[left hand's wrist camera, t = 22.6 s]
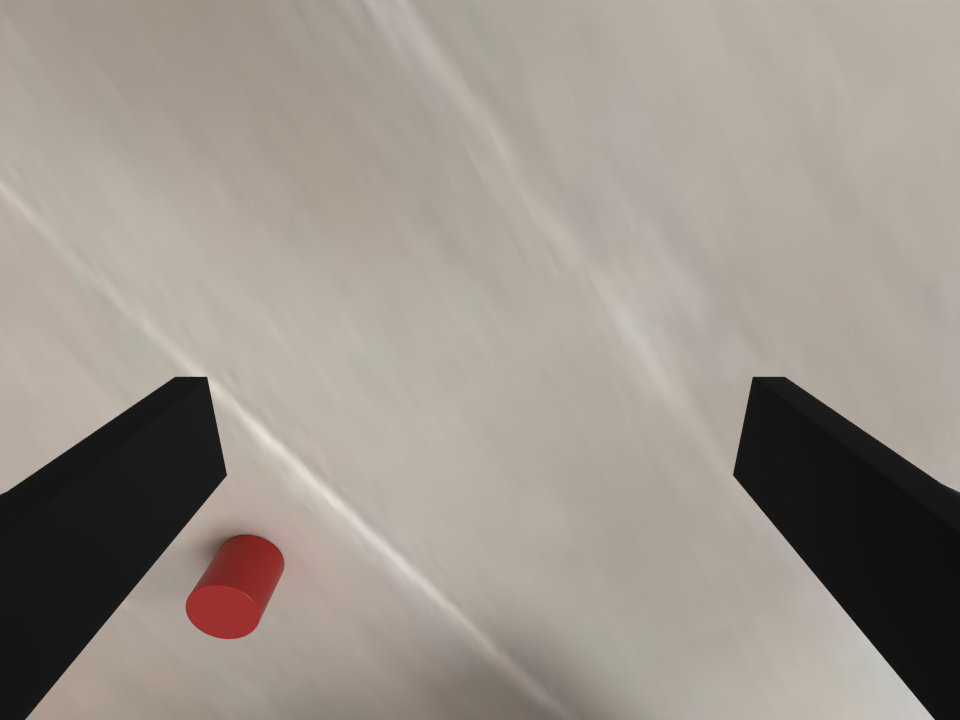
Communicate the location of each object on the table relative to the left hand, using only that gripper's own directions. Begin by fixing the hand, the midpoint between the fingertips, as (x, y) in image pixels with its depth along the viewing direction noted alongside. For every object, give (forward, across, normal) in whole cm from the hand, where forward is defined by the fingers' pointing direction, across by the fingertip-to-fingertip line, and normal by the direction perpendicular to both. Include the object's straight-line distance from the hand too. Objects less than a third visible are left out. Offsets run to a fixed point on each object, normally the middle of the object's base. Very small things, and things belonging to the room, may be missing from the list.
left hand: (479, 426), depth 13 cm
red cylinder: (+21, -18, -23) cm, 36 cm away
